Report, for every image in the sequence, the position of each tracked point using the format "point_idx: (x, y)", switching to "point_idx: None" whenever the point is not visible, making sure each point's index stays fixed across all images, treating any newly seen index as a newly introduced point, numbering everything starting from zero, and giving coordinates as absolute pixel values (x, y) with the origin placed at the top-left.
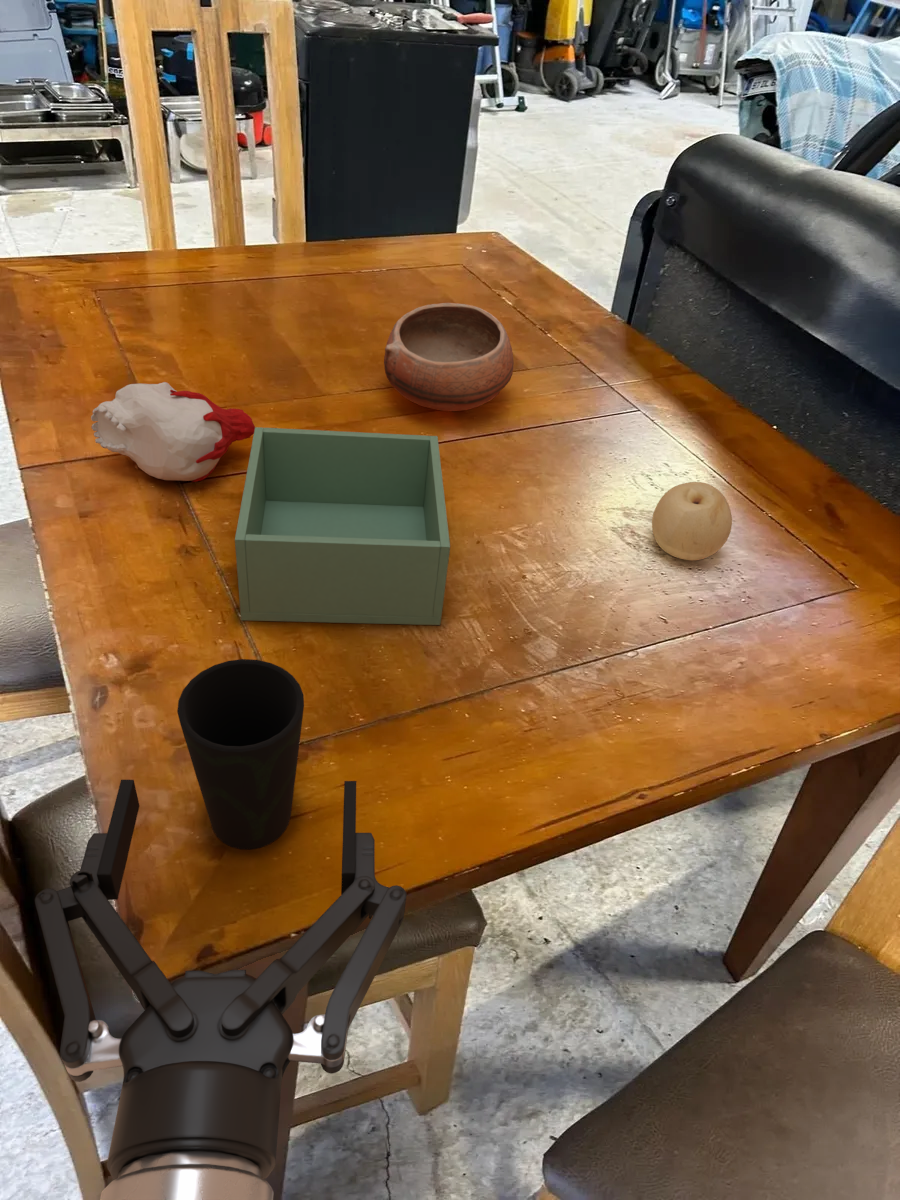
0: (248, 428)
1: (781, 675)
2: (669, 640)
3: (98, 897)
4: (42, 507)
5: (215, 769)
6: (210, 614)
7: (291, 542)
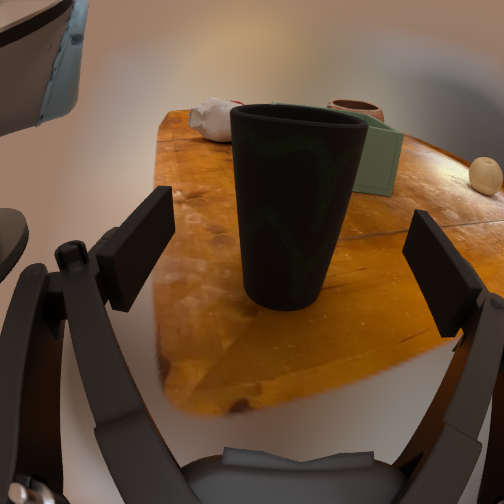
0: None
1: None
2: (501, 221)
3: (86, 281)
4: (158, 149)
5: (270, 167)
6: None
7: None
